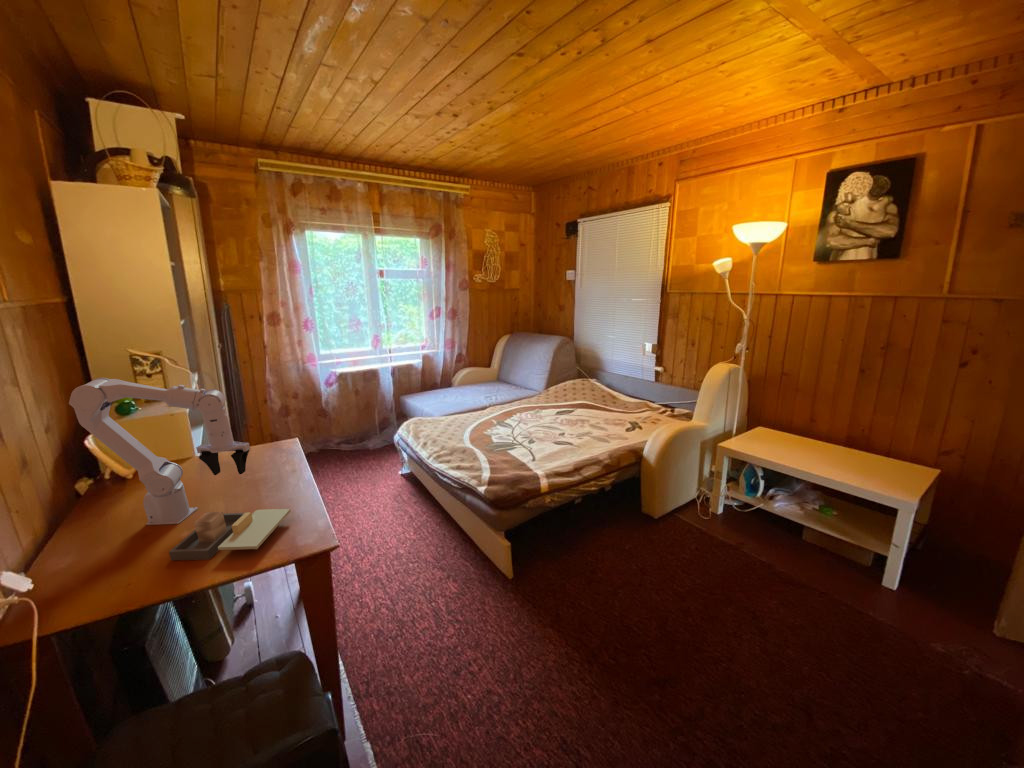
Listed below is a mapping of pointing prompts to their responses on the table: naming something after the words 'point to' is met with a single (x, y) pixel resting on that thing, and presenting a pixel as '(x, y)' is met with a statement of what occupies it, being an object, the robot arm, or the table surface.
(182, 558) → the grey storage tray
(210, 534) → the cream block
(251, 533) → the lid
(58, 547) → the table surface
